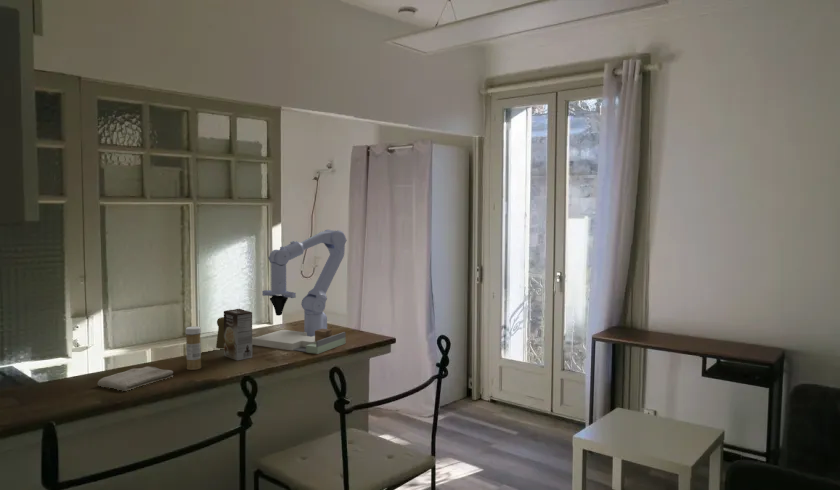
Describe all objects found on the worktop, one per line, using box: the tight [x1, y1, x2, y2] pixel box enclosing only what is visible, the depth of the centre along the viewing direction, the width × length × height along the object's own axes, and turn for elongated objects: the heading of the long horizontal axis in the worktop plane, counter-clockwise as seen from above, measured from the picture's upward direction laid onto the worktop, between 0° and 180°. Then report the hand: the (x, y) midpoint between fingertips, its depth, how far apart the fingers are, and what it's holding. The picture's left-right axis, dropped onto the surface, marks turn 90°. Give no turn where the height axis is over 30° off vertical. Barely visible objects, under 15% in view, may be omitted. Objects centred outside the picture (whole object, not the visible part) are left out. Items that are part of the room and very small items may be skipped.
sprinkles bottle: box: [185, 325, 202, 371], centre depth 192 cm, size 5×5×13 cm
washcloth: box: [97, 366, 174, 392], centre depth 178 cm, size 12×18×3 cm, turn 155°
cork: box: [215, 316, 224, 350], centre depth 222 cm, size 6×6×11 cm
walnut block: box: [315, 328, 333, 342], centre depth 222 cm, size 4×4×4 cm
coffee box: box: [223, 308, 253, 361], centre depth 207 cm, size 9×6×16 cm
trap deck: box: [252, 329, 347, 355], centre depth 227 cm, size 18×30×4 cm, turn 64°
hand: (279, 315), depth 234 cm, fingers closed
